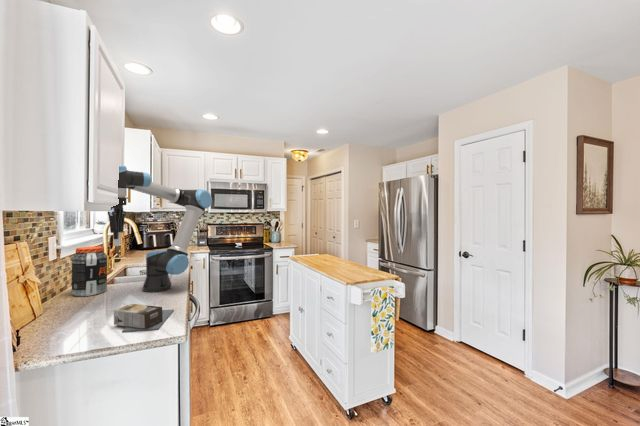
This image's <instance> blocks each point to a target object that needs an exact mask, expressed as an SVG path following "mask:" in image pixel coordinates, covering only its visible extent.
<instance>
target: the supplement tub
mask: <svg viewBox="0 0 640 426" xmlns="http://www.w3.org/2000/svg"><path fill="white" fill-rule="evenodd" d="M104 251H105V249H104V246H100V245H99V246H98V245H97V246H95V245H94V246H82V247H76V248H75V254H74V255H73V257H72V258H71V294H72V295H73V296H75V297H88V296H89V297H90V296H95V295H99V294H102V293H105V292H106V291H107V290H108V255H107V254H106V253H105V252H104Z"/></svg>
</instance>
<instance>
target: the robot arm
mask: <svg viewBox="0 0 640 426" xmlns="http://www.w3.org/2000/svg"><path fill="white" fill-rule="evenodd" d="M118 165H119V180H118V199H119V204H118V205H116V206H113V207H111V206H110V211H107V216H108V221H109V228H110V233H112V234H113V235H112V238H113V239H112V240H113V241H112V243H113V245H112V246H113V247H117V246H118V247H120V246H121V247H122V233H123V232H124V229H125V228H124V226H125V217H126V211H125V210H124V206H126V205H127V198H126V197H127V191H128V190H133V191H135V192H138V193H142V194H146V195H150V196H153V197H157V198H160V199H162V200H166V201H168V202H170V203H171V204H175V205H177V206H181V207H184V208H185V212H184V215H183V217H182V219H181V222H180V224H179V227H178V229H177V232H176V234H175V237H174V239H173V242H172V244H171V246H169V247H167V249H162V250H160V249H159V250H154V251H148V252H147V253H146V255H145V260H146V261H145V262H146V263H145V266H146V267H145V268H146V270H145V272H146V273H145V274H146V277H145V280H144V283H143V285H142V291H143V292H146V293H157V292H163V291H167V290H171V288H172V281H171V278H170V276H169V275H172V276H173V275H180V274H183V273H185V271H186V270H187V269H188V267H189V265H190V261H189V257H188V256H189V252H188V248H189V245H190V243H191V241H192V238H193V235H194V232H195V231H196V226H197V225H198V222H199V219H200V216H201V215H202V214H204V213H205V211H206V209H208V208H210V207H211V205H212V204H213V199H212V196H211V194H210V192H209V191H208V190H206V189H180V188H176V187H175V188H172V187H168V186H166V185H162V184H159V183H156V182H154V181H152V176H151V174H150V173H149V172H143V171H133V170H128V169H127V166H125V165H123V164H122V165H121V164H118ZM123 201H124V203H123Z"/></svg>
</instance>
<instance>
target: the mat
mask: <svg viewBox="0 0 640 426" xmlns="http://www.w3.org/2000/svg"><path fill="white" fill-rule="evenodd" d="M174 311H175V310H174V308H173V309H162V312H163V321H162V322H160V323H158V324H155V325H153V326H151V327H149V328H147V329H142V328H135V327H128V326H125V327H124V329H122V330H121V332H122V333H133V332H146V331H158V330H160V328H162V326H163V325H164V323H165V322H166V321H167V320H168V319H169V317H170V316H171V315H172V313H174Z"/></svg>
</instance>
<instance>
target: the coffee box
mask: <svg viewBox="0 0 640 426" xmlns="http://www.w3.org/2000/svg"><path fill="white" fill-rule="evenodd" d="M162 310H163V307H162V306H156V305H147V304H140V303H139V304H138V303H130V304H127V305H126V306H125V305H124V306H122V307H120V308H119V307H118V308H117V309H114V310H113V325H115V326H121V327H127V326H128V327H135V328H142V329H147V328H149V327H151V326H153V325H155V324H158V323H160V322H162V321H163V312H162Z"/></svg>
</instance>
